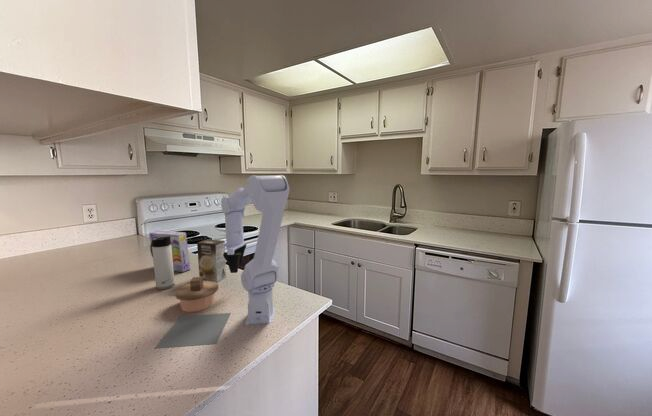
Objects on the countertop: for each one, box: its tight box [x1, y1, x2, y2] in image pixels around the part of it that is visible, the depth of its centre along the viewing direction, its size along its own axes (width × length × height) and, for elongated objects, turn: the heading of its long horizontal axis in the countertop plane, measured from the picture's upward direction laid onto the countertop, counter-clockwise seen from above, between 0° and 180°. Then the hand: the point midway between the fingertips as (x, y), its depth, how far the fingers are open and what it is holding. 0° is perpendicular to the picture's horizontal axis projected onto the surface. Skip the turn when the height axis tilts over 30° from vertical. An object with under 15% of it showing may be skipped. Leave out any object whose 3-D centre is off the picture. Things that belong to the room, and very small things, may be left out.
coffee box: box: [196, 238, 227, 283], centre depth 110 cm, size 9×6×16 cm
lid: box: [174, 276, 219, 301], centre depth 87 cm, size 13×13×4 cm
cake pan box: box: [148, 229, 191, 273], centre depth 121 cm, size 19×5×18 cm, turn 70°
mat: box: [153, 312, 232, 350], centre depth 74 cm, size 15×15×1 cm
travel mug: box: [152, 236, 176, 291], centre depth 102 cm, size 6×7×20 cm
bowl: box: [179, 293, 216, 313], centre depth 88 cm, size 10×10×5 cm
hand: (236, 268), depth 93 cm, fingers open, 7 cm apart
